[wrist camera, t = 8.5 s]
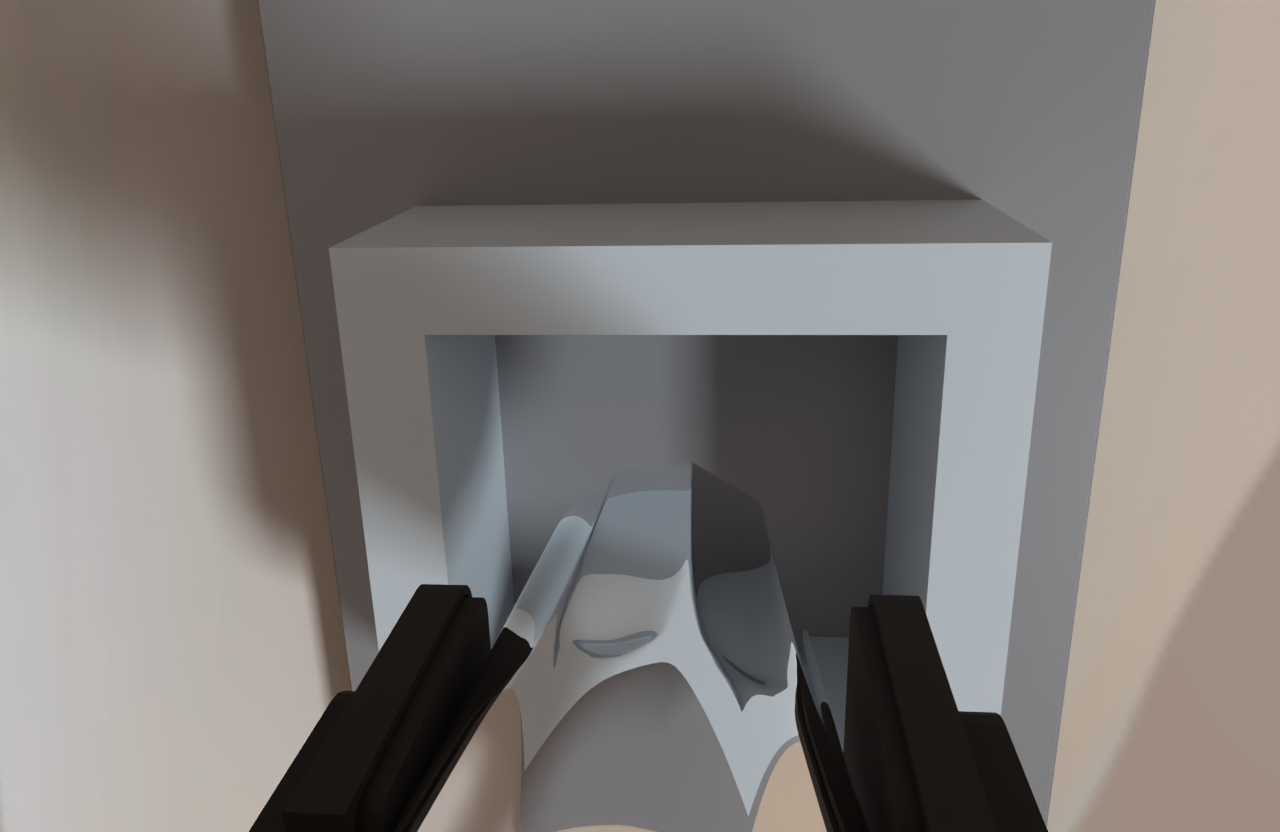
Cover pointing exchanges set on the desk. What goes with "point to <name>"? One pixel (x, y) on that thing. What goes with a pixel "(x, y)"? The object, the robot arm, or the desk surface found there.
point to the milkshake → (648, 681)
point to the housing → (720, 294)
